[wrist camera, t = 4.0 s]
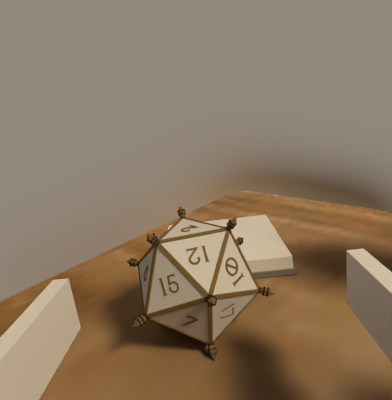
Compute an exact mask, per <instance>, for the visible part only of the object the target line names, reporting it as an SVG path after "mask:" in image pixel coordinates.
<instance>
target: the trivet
mask: <svg viewBox="0 0 392 400" xmlns="http://www.w3.org/2000/svg"><path fill="white" fill-rule="evenodd" d="M230 220H231V219H230ZM228 222H229V219H224V220H215V221H206V223H210V224H215V225H219V226H223V227H227V223H228ZM236 223H237V225H236V226H235V227H234V229H231V231H232V233H233V235H234V237H235V239H237V238H239V237H241V238H244V239H243V244H241V245H239V247H240V249H241V251H242V253H243V255H244V257H245V259H246V261H247V263H248V265H249V267H250V269H251V271H252V273H253V275H254V277H255V278H265V277H274V276H284V275H294V274H296V268H295V266H294V265H293V258H292V255H291V253H290V252H289V250H288V249H287V247H286V246H285V244H284V242H283V241H282V239H281V238H280V236H279V235H278V233H277V232H276V230H275V229H274V227H273V226H272V224H271V223H270V221H269V219H268V218H267V216H266V215H259V216H250V217H242V218H236ZM172 226H173V225H170V226H169V227H168V229H170V228H171V227H172Z"/></svg>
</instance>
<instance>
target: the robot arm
mask: <svg viewBox="0 0 392 400" xmlns="http://www.w3.org/2000/svg"><path fill="white" fill-rule="evenodd" d="M346 261H347V304H348V306H349V307H350V308H351V310H352V311H353V312H354V314H355V315H356V316H357V317H358V319H359V320H360V321H361V323H362V324H363V325H364V327H365V328H366V329H367V331H368V332H369V333H370V335H371V336H372V337H373V339H374V340H375V341H376V343H377V344H378V345H379V347H380V348H381V349H382V351H383V352H384V353H385V355H386V356H387V357H388V358H389V360H390V361H391V362H392V272H391V271H390V270H388V269H387V268H386V267H385V266H384V265H382V264H381V263H380V262H379V261H378V260H376V259H375V258H374V257H373V256H372V255H371V254H369V253H368V252H367V251H366V250H365V249H355V250H346ZM80 328H81V327H80V323H79V319H78V315H77V311H76V307H75V303H74V299H73V295H72V291H71V286H70V282H69V279H59V280H53V281H52V282H51V283H50V284H49V285H48V286H47V287H46V288H45V289H44V291H43V292H42V293H41V294H40V295H39V296H38V297H37V298H36V299H35V300H34V302H33V303H32V304H31V305H30V306H29V307H28V308H27V309H26V310H25V311H24V312H23V314H22V315H21V316H20V317H19V318H18V319H17V320H16V321H15V322H14V323H13V324H12V326H11V327H10V328H9V329H8V330H7V331H6V332H5V333H4V334H3V335H2V337H1V338H0V400H39V399H40V397H41V395H42V394H43V392H44V390H45V389H46V387H47V385H48V383H49V382H50V380H51V378H52V377H53V375H54V373H55V371H56V370H57V368H58V366H59V364H60V363H61V361H62V359H63V358H64V356H65V354H66V352H67V351H68V349H69V347H70V345H71V344H72V342H73V340H74V339H75V337H76V335H77V333H78V332H79V330H80Z"/></svg>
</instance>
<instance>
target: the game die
mask: <svg viewBox="0 0 392 400" xmlns="http://www.w3.org/2000/svg"><path fill="white" fill-rule="evenodd" d="M177 212H178V215H179V216H180V219H179V220H178V221H177V222H176V223H175V224H174V225H173V226H172V227H171V228H170V229H168V230H167V231H166V232H165V233H164V234H163V235H162V236H161V237H160V238H159V239H157V236H155V235H154V233H153V234H147V241H148V242H150V243H151V244H153V245H152V246H151V248H150V249H149V250H148V251H147V252H146V253H145V255H144V256H143V257H142V258H141V259H140V261H137V260H136V259H133V258H131V259H130V260H128V261H127V262H128V263H129V264H130V266H133V267H135V266H138V270H139V278H140V286H141V294H142V302H143V310H144V314H143V315H142V316H140V315H139V317H138V318H135V322H134V325H133V327H137V326H140V327H141V326H142V324H144V323H145V321H146V319H148V320H150V321H153V322H155V323H157V324H160V325H162V326H165V327H167V328H170V329H172V330H174V331H177V332H179V333H182V334H184V335H186V336H189V337H191V338H194V339H196V340H198V341H201V342H203V343H206V344H208V349H207V351H208V352H209V354H208V355H210V356H211V357H212V358H213V360H214V361H215V357H216V353H217V352H216V347H215V346H214V342H215V341H216V340H217V339H218V338H219V336H220V335H221V334H222V333H223V332H224V331H225V330H226V329H227V328H228V326H229V325H230V324H231V323H232V322H233V321H234V320H235V319H236V318H237V317H238V315H239V314H240V313H241V312H242V311H243V310H244V309H245V308H246V307H247V305H248V304H249V303H250V302H251V301H252V300H253V299H254V298H255V297H256V295H257V294H258V293H260V294H262V295H263V296H264V295H265V296H267V297H268V296H270V295H273V294H274V293H273V292H272V291H271V290H270V289H269V288H265V287H264V288H260V287H259V285H258V283H257V281H256V279H255V277H254V275H253V273H252V271H251V269H250V267H249V265H248V263H247V261H246V259H245V257H244V255H243V253H242V251H241V249H240V247H239V245H241V244H243V239H244V238H241V237H239V238H237V239H235V237H234V235H233V233H232V231H231V229H234V227H235V226H236V225H237V223H236V218H233V219H231V220H230V219H229V222H228V223H227V227H223V226H219V225H215V224H210V223H206V222H202V221H198V220H193V219H189V218H185V214H186V213H185V210H184V209H182V207H179V210H178V211H177Z"/></svg>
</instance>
